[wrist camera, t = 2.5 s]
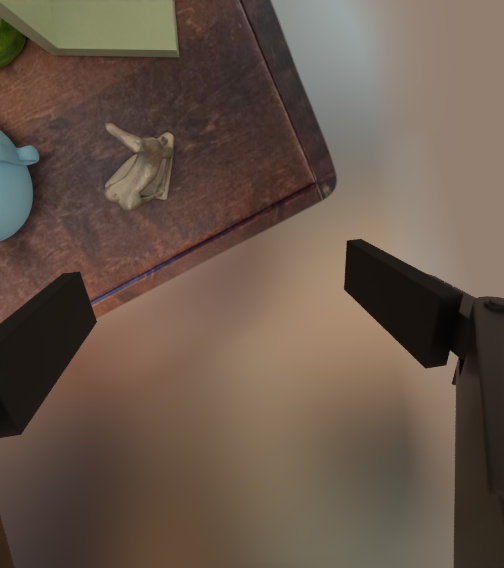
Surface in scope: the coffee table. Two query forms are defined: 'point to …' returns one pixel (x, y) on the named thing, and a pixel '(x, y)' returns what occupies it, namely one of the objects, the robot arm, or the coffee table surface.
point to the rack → (96, 26)
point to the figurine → (141, 170)
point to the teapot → (15, 185)
